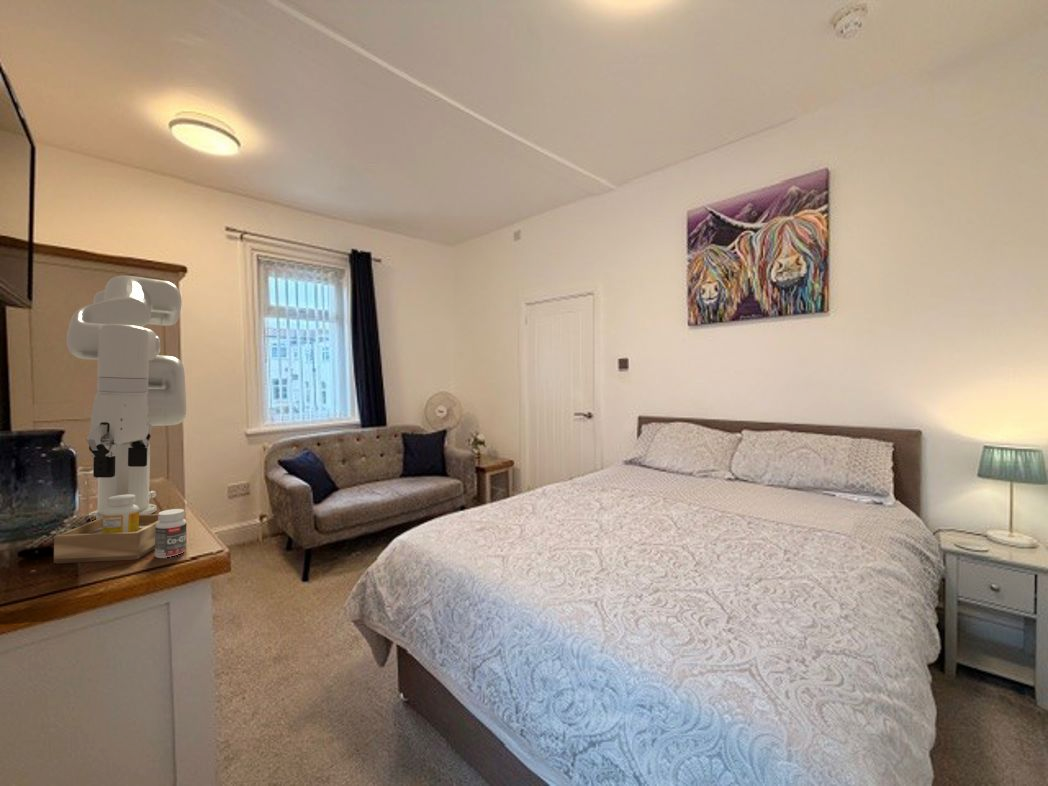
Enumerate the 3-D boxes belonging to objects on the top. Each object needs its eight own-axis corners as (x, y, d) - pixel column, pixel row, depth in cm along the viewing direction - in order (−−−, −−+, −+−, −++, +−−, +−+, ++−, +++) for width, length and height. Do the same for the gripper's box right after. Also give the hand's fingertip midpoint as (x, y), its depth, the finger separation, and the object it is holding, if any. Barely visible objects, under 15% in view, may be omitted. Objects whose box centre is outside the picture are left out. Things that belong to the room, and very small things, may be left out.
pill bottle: (168, 560, 82) (169, 516, 82) (148, 557, 83) (149, 514, 83) (192, 551, 87) (192, 509, 87) (172, 548, 88) (173, 507, 88)
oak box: (104, 539, 92) (105, 515, 92) (175, 536, 95) (176, 513, 95) (53, 563, 79) (54, 536, 79) (137, 559, 82) (137, 533, 82)
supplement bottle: (106, 551, 84) (107, 501, 84) (98, 545, 87) (99, 497, 87) (142, 543, 88) (143, 496, 88) (133, 537, 91) (134, 492, 91)
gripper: (130, 384, 95) (128, 462, 95) (65, 387, 78) (64, 482, 78) (169, 386, 96) (168, 462, 97) (115, 389, 79) (113, 482, 80)
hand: (121, 471), depth 88 cm, fingers open, 9 cm apart
